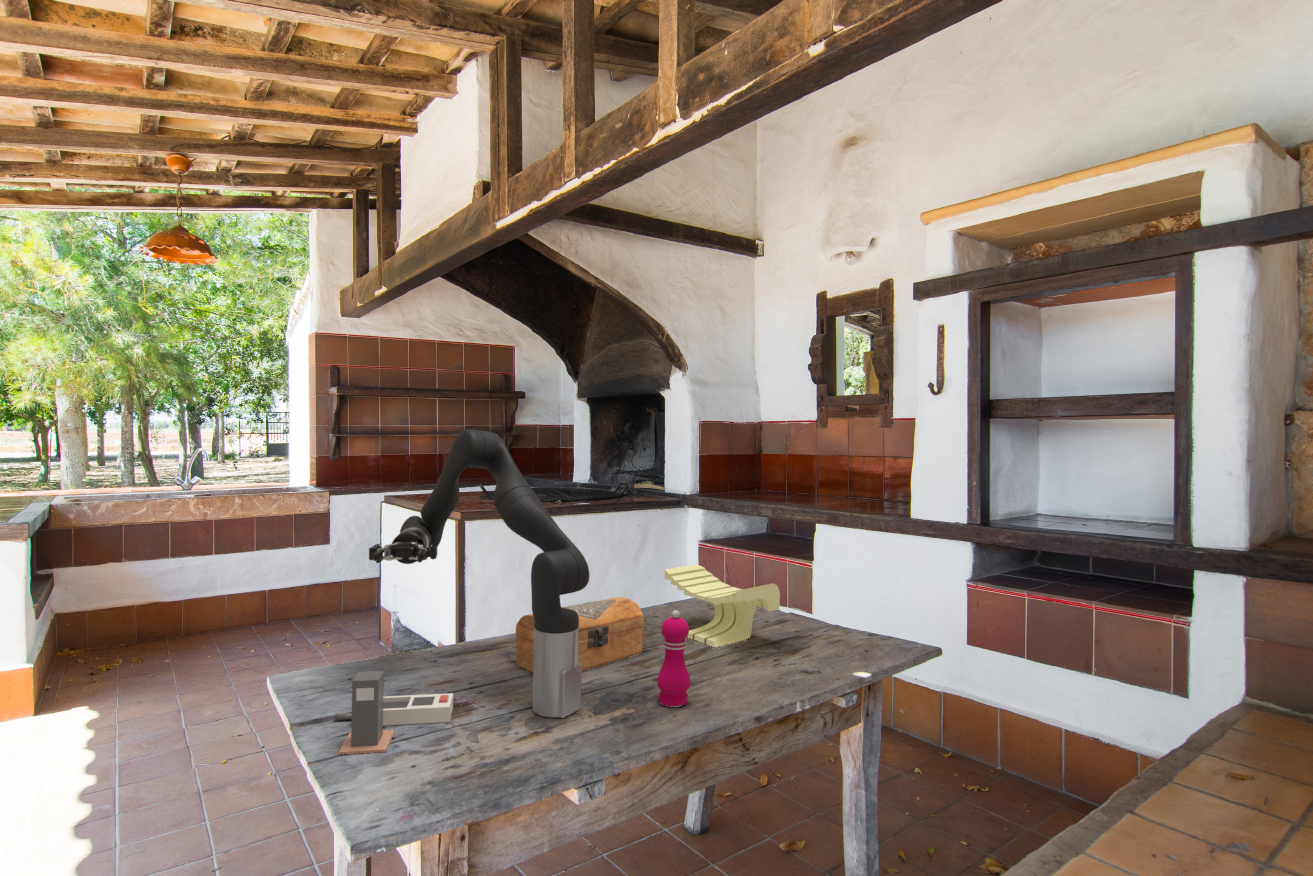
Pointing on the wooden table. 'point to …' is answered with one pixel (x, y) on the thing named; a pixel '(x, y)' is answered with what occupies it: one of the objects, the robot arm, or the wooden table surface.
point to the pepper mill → (674, 662)
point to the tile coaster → (380, 747)
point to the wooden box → (593, 633)
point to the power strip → (413, 709)
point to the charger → (367, 708)
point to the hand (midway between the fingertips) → (398, 558)
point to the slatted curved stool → (723, 604)
